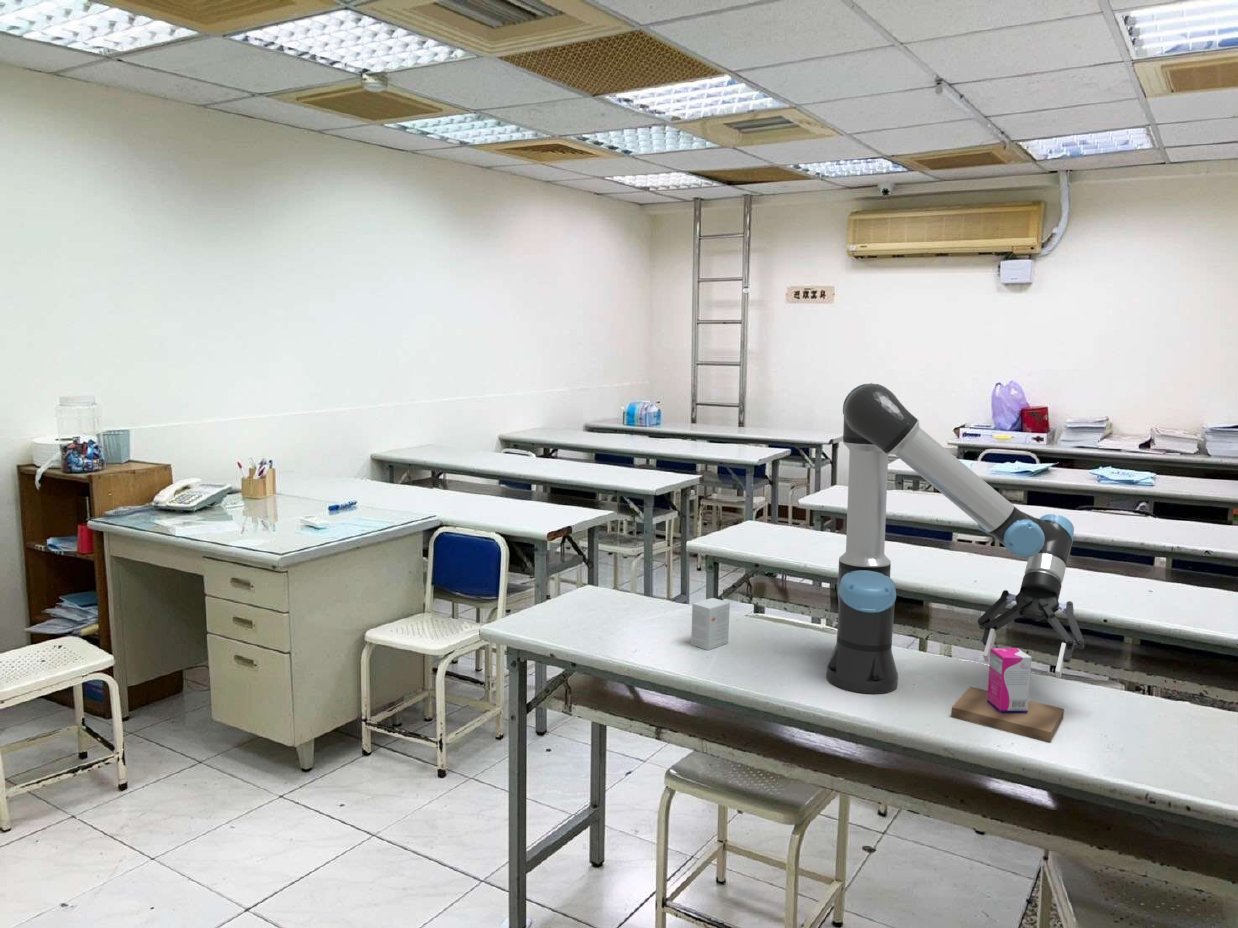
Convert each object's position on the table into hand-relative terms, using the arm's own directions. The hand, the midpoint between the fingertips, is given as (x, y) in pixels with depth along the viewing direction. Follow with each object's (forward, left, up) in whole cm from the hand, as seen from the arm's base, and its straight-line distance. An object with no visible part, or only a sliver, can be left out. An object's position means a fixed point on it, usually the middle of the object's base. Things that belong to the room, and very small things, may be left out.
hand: (1021, 666), depth 175 cm
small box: (-69, -7, -9) cm, 70 cm away
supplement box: (-1, -6, -7) cm, 9 cm away
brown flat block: (-1, -6, -9) cm, 11 cm away
